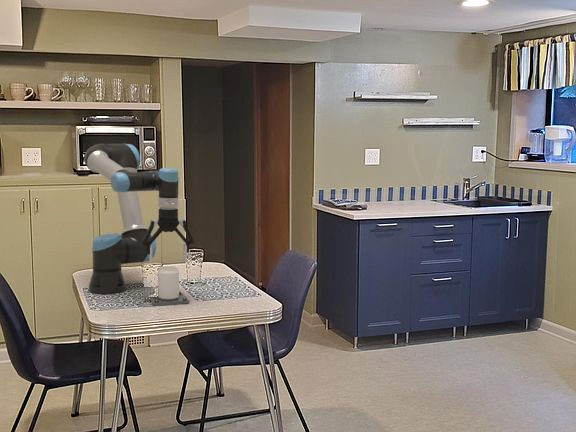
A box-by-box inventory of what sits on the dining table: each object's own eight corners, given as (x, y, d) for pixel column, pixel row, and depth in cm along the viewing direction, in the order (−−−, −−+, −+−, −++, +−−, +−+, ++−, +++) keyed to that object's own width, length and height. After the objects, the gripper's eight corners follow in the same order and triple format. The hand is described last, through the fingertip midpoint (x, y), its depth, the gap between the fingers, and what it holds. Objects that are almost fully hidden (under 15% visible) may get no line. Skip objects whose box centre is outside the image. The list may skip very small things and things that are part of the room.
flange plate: (153, 306, 270) (153, 295, 270) (147, 297, 283) (147, 288, 283) (189, 303, 275) (189, 293, 274) (182, 295, 288) (182, 286, 287)
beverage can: (169, 294, 284) (169, 265, 283) (183, 298, 279) (183, 268, 277) (153, 298, 278) (153, 268, 276) (167, 301, 273) (167, 271, 271)
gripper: (137, 209, 266) (137, 264, 269) (201, 208, 275) (201, 262, 278) (134, 207, 273) (134, 260, 276) (197, 206, 282) (196, 258, 285)
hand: (167, 261), depth 277 cm, fingers open, 13 cm apart
